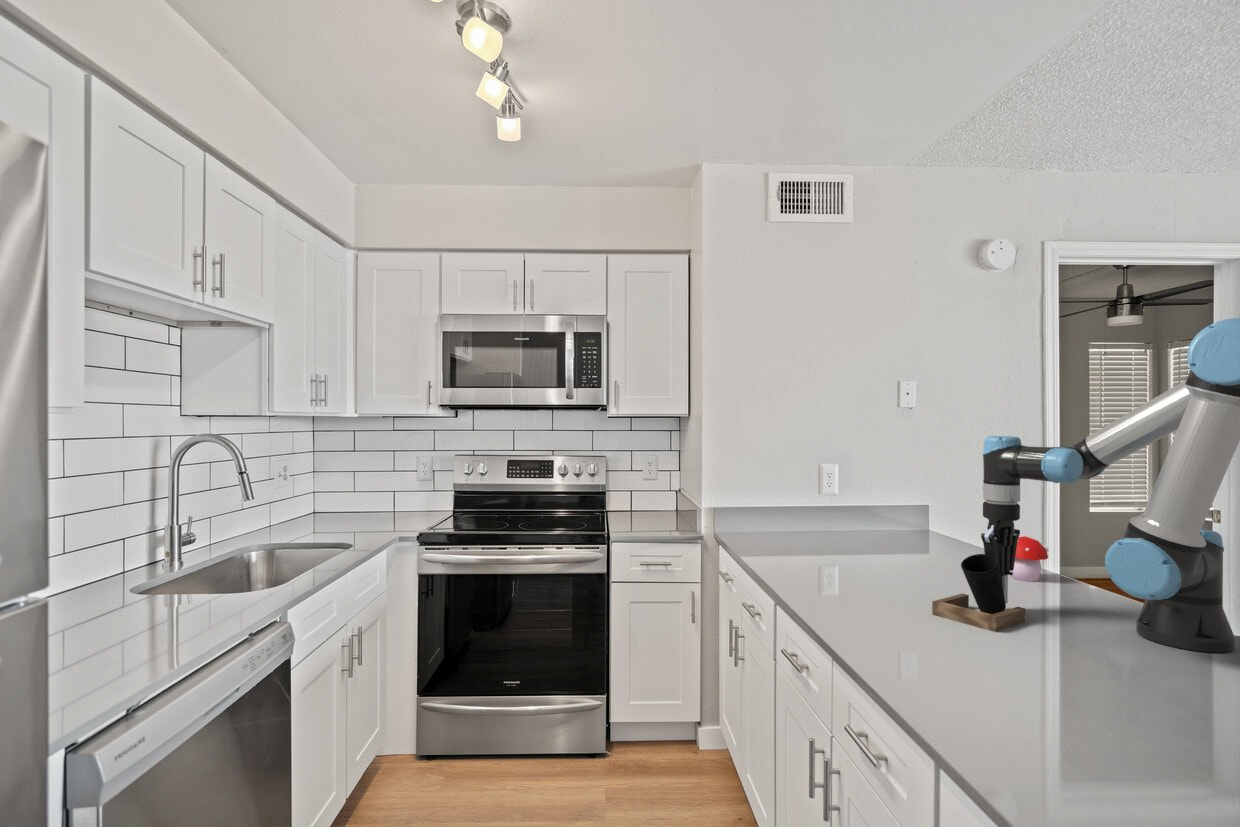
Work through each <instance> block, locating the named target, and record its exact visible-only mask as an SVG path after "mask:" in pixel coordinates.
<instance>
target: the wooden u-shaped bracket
mask: <svg viewBox="0 0 1240 827" xmlns="http://www.w3.org/2000/svg"><path fill="white" fill-rule="evenodd" d="M969 596H970V595H969V594H967V593H959V594H956V595H955V594H954V595H951V596H948V597H944V598H943V597H942V598H938V599H936V600H932V602H931V603H932V606H931V607H932V608H931V609H932V611H931V612H932V613H931V614H932V615H933V616H936V617H941V618H944V619H946V620H947V619H948V620H950V621H955V622H958V623H962V624H966V625H969V626H972V627H976V628H980V629H984V630H988V631H990V632H994V633H996V632H999V631H1002V630H1006V629H1008V628H1011V627H1014V626H1016V625H1019V624H1022V623H1023V624H1024V623H1026V608H1025V607H1021V606H1016V607H1011V608H1009V609H1005V611H1002V612H999V613H995V614H988V613H984V612H981V611H980V610H977V609H972V608H969V607H970V606H969V604H970V602H969V601H970V600H969Z"/></svg>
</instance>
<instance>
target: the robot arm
mask: <svg viewBox="0 0 1240 827" xmlns="http://www.w3.org/2000/svg"><path fill="white" fill-rule="evenodd" d="M1186 353H1187V354H1186V355H1187V356H1186V357H1187V363H1188V365H1189V368H1190V370H1189V373H1188V374H1187V379H1185V380H1183V381H1182V382H1180V383H1178V384H1176V385H1174V386H1173V387H1171V388H1170V389H1167V390H1166V391H1165V392H1163V393H1161V394H1159V395H1156V396H1155V397H1154V398H1152V399H1150V400H1148V401H1147V402H1145V403H1143V404H1142V405H1140V406H1138V407H1136V408H1135V409H1133V410H1131V411H1130V412H1128V413H1126V414H1124V415H1122V416H1121V417H1119V418H1117V419H1116V420H1113V421H1112V422H1110V423H1108V424H1106V425H1105V426H1104V427H1102V428H1100V429H1098V430H1096V431H1095V432H1093V433H1091V434H1089V435H1088V436H1086V437H1085V438H1082V439H1081V440H1080V441H1078V442H1077V441H1076V443H1074V444H1072V445H1070V446H1049V447H1048V446H1027V445H1023V444H1022V440H1021V438H1020V437H1019V436H1011V435H1010V436H1009V435H1008V436H1007V435H990V436H986V437H985V439H984V441H983V442H984V443H983V450H982V452H983V453H982V456H983V458H982V459H983V462H982V463H983V480H982V481H983V482H982V487H981V488H982V498H983V500H985V501H983V502H982V517H983V518H984V519H987V520H988V523H987V531H986V533H984V532H982V533H981V534H980V538H981V540H982V543H983V551H984V554H988V555H991V556H994V557H995V558H997V559H998V562H999V567H1000V573H1001V579H1002V586H1003V592H1004V598H1005V604H1006V605H1007V604H1008V603H1009V602H1008V598H1009V597H1008V596H1009V592H1008V591H1009V576H1011V575H1013V572H1010V571H1013V570H1014V563H1015V556H1016V549H1017V541H1018V538H1019V537H1020V534H1021V530H1020V529H1016V528H1015V522H1017V521H1019V520H1020V519H1021V505H1020V504H1019V502H1021V480H1033V481H1041V482H1050V483H1054V484H1074V483H1076V482H1077V481H1078V480H1089V479H1093V478H1095V477H1098V476H1100V475H1101V474H1102V473H1103V472H1104V471H1105V470H1106V468H1108V467H1109V466H1112V465H1113V464H1115V463H1116V462H1119V461H1121V460H1123V459H1125V458H1126V457H1129V456H1130V455H1132V454H1134V453H1136V452H1138V451H1140V450H1142V449H1143V448H1145V447H1147V446H1149V445H1152V444H1153V443H1155V442H1157V441H1159V440H1161V439H1163V438H1165V437H1166V436H1169V435H1170V434H1172V433H1174V432H1176V433H1175V435H1174V438H1173V440H1172V442H1171V444H1170V446H1169V450H1168V453H1167V455H1166V457H1165V460H1164V461H1163V465H1162V466H1161V469H1160V472H1159V473H1158V474H1159V475H1158V477H1157V479H1156V481H1155V484H1154V486H1153V489H1152V491H1151V493H1150V495H1149V496H1150V497H1149V499H1148V501H1147V504H1146V506H1145V508H1144V511H1143V513H1141V514H1140V515H1137V516H1133V517H1131V518H1130V519H1129V521H1128V524H1127V526H1126V529H1125V531H1124V534H1123V536H1122V538H1121V539H1119V540H1118V539H1117V540H1116V541H1114V543H1113V544H1111V545H1110V547H1109V548H1108V549H1107V551H1106V553H1105V556H1104V557H1105V558H1104V566H1105V570H1106V572H1107V574H1108V576H1109V578H1110V579H1111V581H1112V583H1113V584H1114V585H1115V586H1117V587H1118V588H1119V589H1120V590H1121V591H1123V592H1124V593H1125V594H1128V595H1130V596H1132V597H1134V598H1137V599H1140V600H1144V602H1143V605H1142V608H1141V610H1140V612H1139V614H1138V617H1137V619H1136V621H1135V625H1136V626H1135V627H1136V633H1137V634H1138V635H1139V636H1140V637H1143V638H1145V639H1147V640H1150V641H1152V642H1155V643H1158V644H1162V645H1165V646H1169V647H1173V648H1177V649H1178V648H1179V649H1184V650H1191V651H1198V652H1203V653H1204V652H1206V653H1230V652H1232V651H1234V650H1235V649H1236V638H1235V635H1234V632H1233V629H1232V627H1231V624H1230V621H1229V620H1228V617H1227V615H1226V613H1225V610H1224V606H1223V605H1224V603H1223V602H1224V601H1223V599H1224V598H1223V594H1224V590H1223V589H1224V586H1223V585H1224V583H1223V582H1224V579H1223V578H1224V574H1223V573H1224V551H1225V547H1224V544H1223V537H1222V535H1221V534H1220V533H1219V532H1218V531H1216V530H1207V529H1203V526H1204V524H1205V521H1206V518H1207V516H1208V514H1209V512H1210V510H1211V507H1212V506H1213V503H1214V500H1215V498H1216V497H1217V494H1218V492H1219V489H1220V487H1221V485H1222V482H1223V480H1224V478H1225V477H1226V476H1225V475H1226V473H1227V471H1228V469H1229V466H1230V464H1231V461H1232V460H1233V457H1234V456H1235V453H1236V450H1237V448H1238V447H1239V446H1238V445H1239V444H1240V317H1235V318H1226V319H1222V320H1220V321H1216V322H1214V323H1212V324H1209V325H1208V326H1205V327H1204V328H1203V329H1202V330H1200V331H1199V332H1198V333H1197V334H1196V335H1195V336H1194V337H1193V339H1192V340H1191V342H1190V344H1189V346H1188V349H1187V352H1186Z"/></svg>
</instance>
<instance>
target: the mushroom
mask: <svg viewBox="0 0 1240 827" xmlns="http://www.w3.org/2000/svg"><path fill="white" fill-rule="evenodd" d="M1048 552H1049V547H1048V546H1046V545H1044V544H1042V543H1040V541H1039V540H1037V539H1034V538H1031V537H1030V536H1019V538H1018V541H1017V549H1016V556H1015V563H1014V570H1013V571H1010V572H1013V575H1010V576H1011V578H1012V579H1013V580H1015V581H1021V582H1028V583H1033V582H1034V583H1035V582H1039V580H1040V577H1041V571H1042V563H1041V561H1043V560H1048V559H1049V555H1048Z"/></svg>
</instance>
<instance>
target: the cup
mask: <svg viewBox="0 0 1240 827" xmlns="http://www.w3.org/2000/svg"><path fill="white" fill-rule="evenodd" d="M960 563H961V564H960V568H961V569H962V572H963V574H964V577H965V579H966V581H967V583H968V584H967V585H968V586H969V588H970V591H971V594H972V596H973V598H974V601H975V603H976V605H977V607H978V608H977V609H979V610H978V611H980V612H984V613H988V614H995V613H999V612H1002V611H1005V610H1007V604H1005V598H1004V592H1003V586H1002V579H1001V573H1000V567H999V562H998V559H997V558H995V557H994V556H991V555H988V554H985V553H977V554H972V555H969V556H967V557H965V558H964V559H963V560H962V561H961V562H960Z"/></svg>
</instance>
